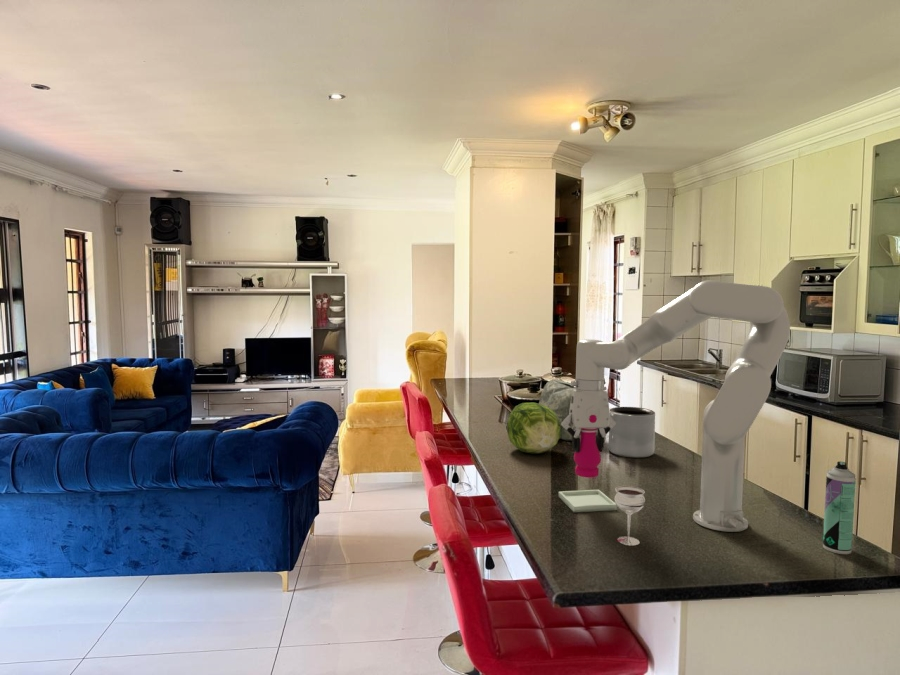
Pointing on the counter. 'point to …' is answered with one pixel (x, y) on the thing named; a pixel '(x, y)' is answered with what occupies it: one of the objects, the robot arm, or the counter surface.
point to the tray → (587, 500)
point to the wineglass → (629, 507)
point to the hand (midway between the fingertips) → (587, 450)
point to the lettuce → (533, 428)
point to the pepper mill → (588, 452)
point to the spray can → (839, 509)
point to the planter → (632, 432)
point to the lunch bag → (559, 402)
